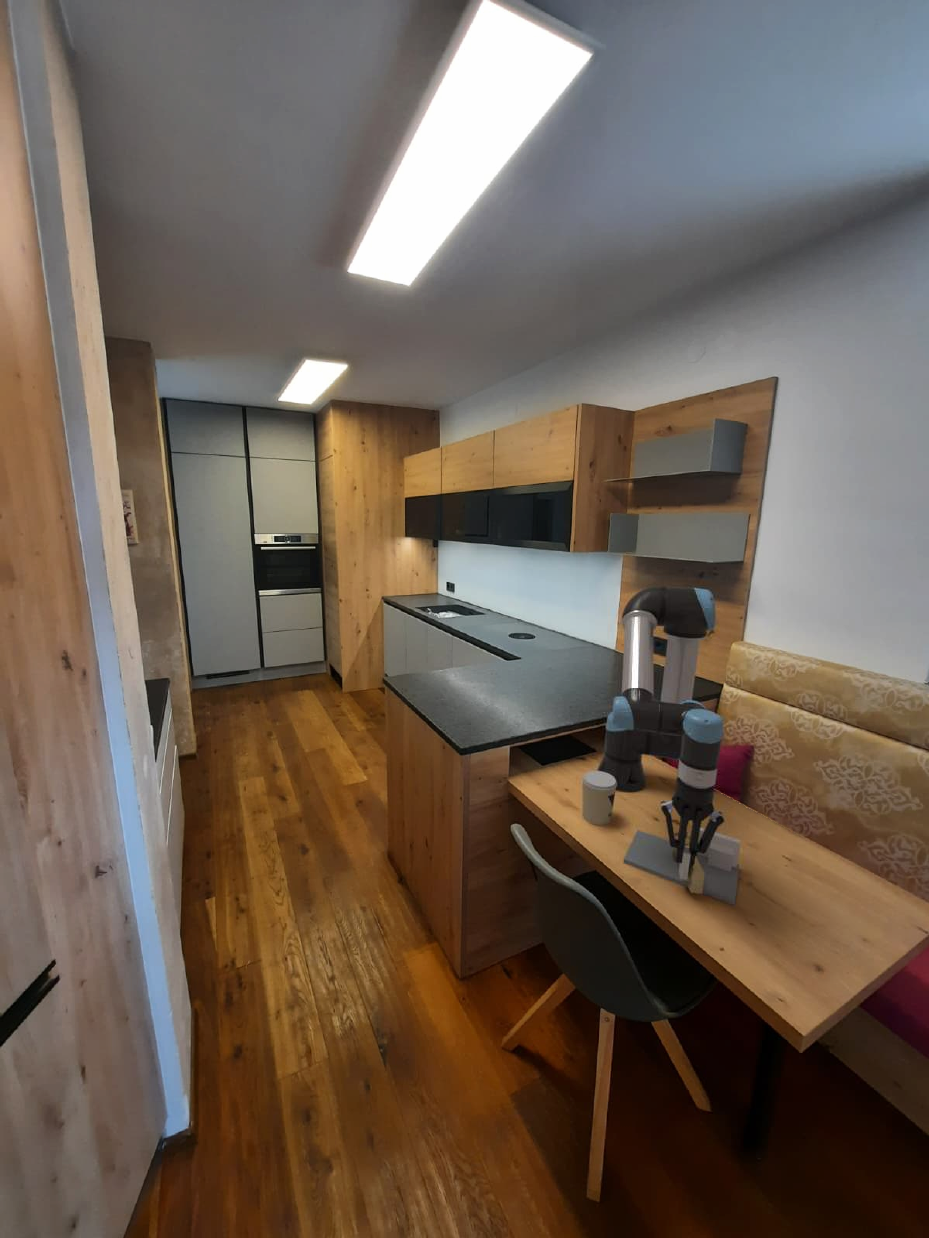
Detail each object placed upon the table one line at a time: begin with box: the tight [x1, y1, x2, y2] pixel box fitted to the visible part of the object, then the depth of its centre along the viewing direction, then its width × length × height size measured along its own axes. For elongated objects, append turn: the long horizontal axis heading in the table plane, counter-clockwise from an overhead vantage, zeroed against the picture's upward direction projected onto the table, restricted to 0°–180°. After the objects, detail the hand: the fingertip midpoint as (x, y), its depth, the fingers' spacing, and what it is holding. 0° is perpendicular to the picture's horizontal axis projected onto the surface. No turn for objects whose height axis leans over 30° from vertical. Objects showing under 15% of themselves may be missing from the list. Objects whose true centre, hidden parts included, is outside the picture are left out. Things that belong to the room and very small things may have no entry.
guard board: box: [623, 827, 741, 906], centre depth 116 cm, size 14×24×8 cm, turn 57°
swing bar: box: [672, 832, 705, 894], centre depth 112 cm, size 14×4×6 cm, turn 172°
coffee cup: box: [581, 770, 617, 826], centre depth 135 cm, size 9×9×12 cm
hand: (682, 875), depth 109 cm, fingers closed
